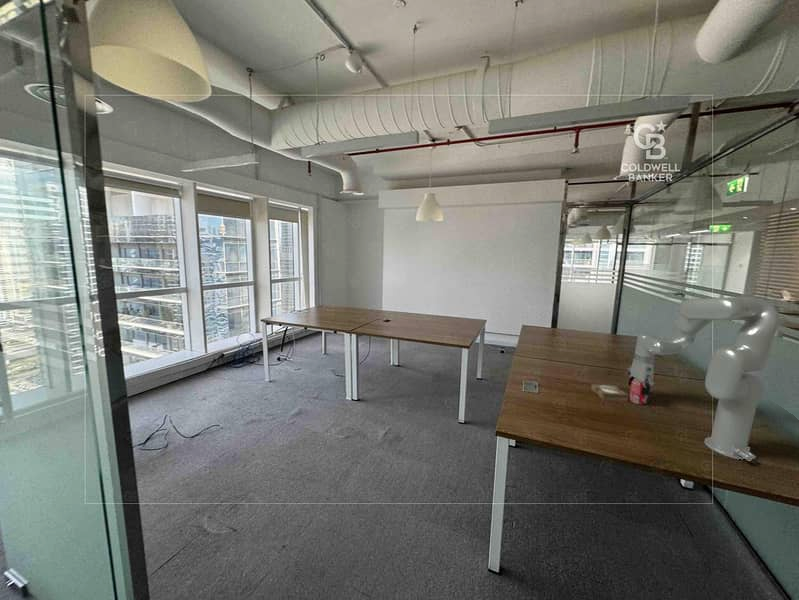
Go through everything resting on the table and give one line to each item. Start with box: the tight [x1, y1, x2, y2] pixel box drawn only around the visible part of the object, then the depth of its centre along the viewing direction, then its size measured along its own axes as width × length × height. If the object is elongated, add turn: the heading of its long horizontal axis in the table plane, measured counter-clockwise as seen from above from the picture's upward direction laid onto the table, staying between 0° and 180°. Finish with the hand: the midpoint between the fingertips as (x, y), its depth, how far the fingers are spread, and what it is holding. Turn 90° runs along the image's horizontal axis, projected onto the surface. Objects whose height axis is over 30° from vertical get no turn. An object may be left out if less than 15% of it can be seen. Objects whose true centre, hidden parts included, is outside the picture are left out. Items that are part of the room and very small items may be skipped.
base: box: [590, 383, 630, 402], centre depth 162 cm, size 12×12×3 cm
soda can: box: [628, 378, 649, 406], centre depth 153 cm, size 7×7×12 cm
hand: (638, 389), depth 154 cm, fingers open, 9 cm apart
